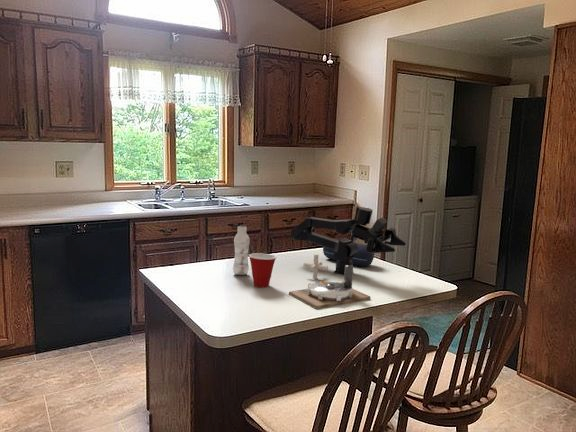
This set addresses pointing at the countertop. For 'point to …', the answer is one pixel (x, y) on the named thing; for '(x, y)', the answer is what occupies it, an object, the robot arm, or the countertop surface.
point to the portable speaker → (359, 259)
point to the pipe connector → (315, 266)
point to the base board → (319, 303)
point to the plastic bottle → (241, 251)
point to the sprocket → (333, 288)
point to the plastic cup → (261, 268)
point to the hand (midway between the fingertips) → (400, 247)
